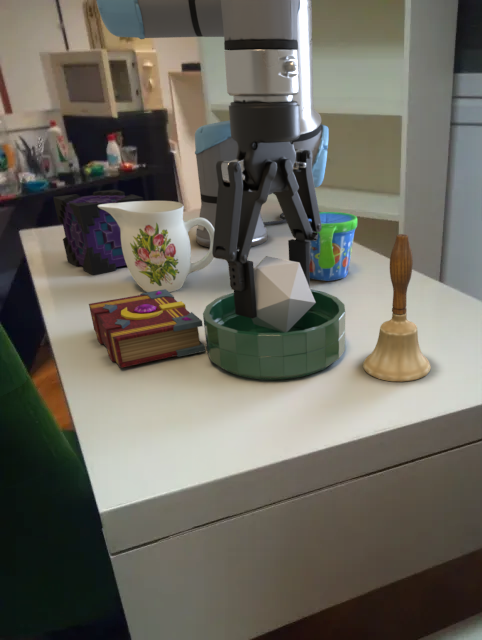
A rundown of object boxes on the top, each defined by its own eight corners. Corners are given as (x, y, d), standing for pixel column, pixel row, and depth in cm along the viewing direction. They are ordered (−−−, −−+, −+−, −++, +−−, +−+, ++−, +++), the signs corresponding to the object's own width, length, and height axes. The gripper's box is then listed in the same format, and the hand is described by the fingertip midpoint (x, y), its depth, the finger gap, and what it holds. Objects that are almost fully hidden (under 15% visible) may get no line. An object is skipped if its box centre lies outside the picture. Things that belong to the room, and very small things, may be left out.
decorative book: (119, 372, 72) (111, 334, 70) (90, 330, 85) (83, 296, 82) (206, 353, 77) (202, 316, 75) (168, 315, 89) (163, 283, 87)
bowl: (268, 319, 88) (266, 279, 85) (369, 345, 79) (371, 302, 76) (179, 359, 76) (173, 315, 73) (288, 396, 67) (285, 347, 64)
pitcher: (224, 292, 99) (216, 205, 92) (112, 301, 95) (94, 212, 88) (218, 273, 108) (210, 193, 101) (115, 281, 104) (99, 199, 97)
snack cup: (304, 263, 113) (302, 207, 108) (359, 264, 112) (360, 208, 107) (290, 289, 100) (288, 226, 95) (352, 290, 99) (353, 228, 93)
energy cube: (125, 251, 122) (114, 189, 116) (153, 262, 114) (142, 197, 108) (67, 262, 115) (53, 197, 109) (92, 275, 108) (78, 206, 101)
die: (328, 328, 76) (308, 254, 77) (306, 315, 67) (284, 232, 68) (268, 348, 78) (250, 276, 79) (239, 338, 70) (219, 257, 70)
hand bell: (383, 387, 69) (390, 247, 60) (351, 360, 75) (354, 230, 67) (443, 374, 71) (458, 239, 63) (408, 349, 78) (417, 223, 70)
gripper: (214, 104, 53) (235, 338, 64) (352, 95, 68) (348, 285, 80) (157, 102, 56) (186, 324, 68) (300, 94, 72) (304, 275, 84)
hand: (274, 303), depth 74 cm, fingers closed on die, 10 cm apart
